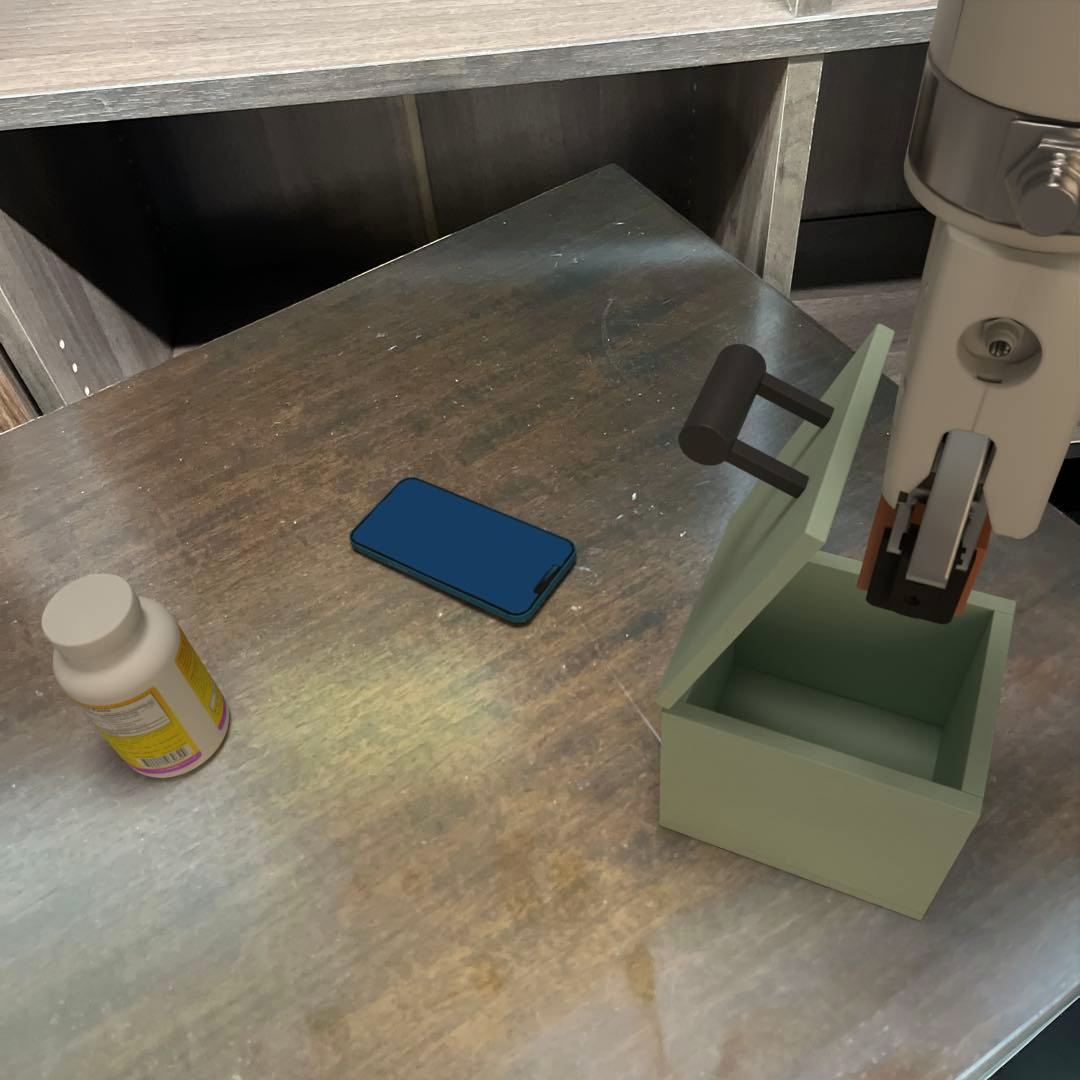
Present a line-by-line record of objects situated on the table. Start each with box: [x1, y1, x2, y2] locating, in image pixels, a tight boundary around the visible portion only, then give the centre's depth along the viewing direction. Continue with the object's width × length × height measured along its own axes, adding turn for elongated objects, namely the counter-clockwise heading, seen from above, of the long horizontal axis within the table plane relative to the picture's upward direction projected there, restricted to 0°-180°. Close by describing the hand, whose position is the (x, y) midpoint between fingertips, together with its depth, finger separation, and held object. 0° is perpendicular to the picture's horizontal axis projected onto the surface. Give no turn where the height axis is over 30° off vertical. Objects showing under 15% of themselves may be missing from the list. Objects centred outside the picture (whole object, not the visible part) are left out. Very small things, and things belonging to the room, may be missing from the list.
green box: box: [658, 549, 1017, 921], centre depth 51 cm, size 14×12×12 cm
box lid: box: [653, 322, 896, 709], centre depth 42 cm, size 15×12×6 cm
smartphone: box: [348, 476, 578, 624], centre depth 68 cm, size 7×1×15 cm
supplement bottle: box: [41, 572, 230, 779], centre depth 56 cm, size 7×7×13 cm
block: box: [857, 472, 993, 616], centre depth 38 cm, size 4×4×4 cm
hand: (919, 561), depth 40 cm, fingers closed on block, 4 cm apart
